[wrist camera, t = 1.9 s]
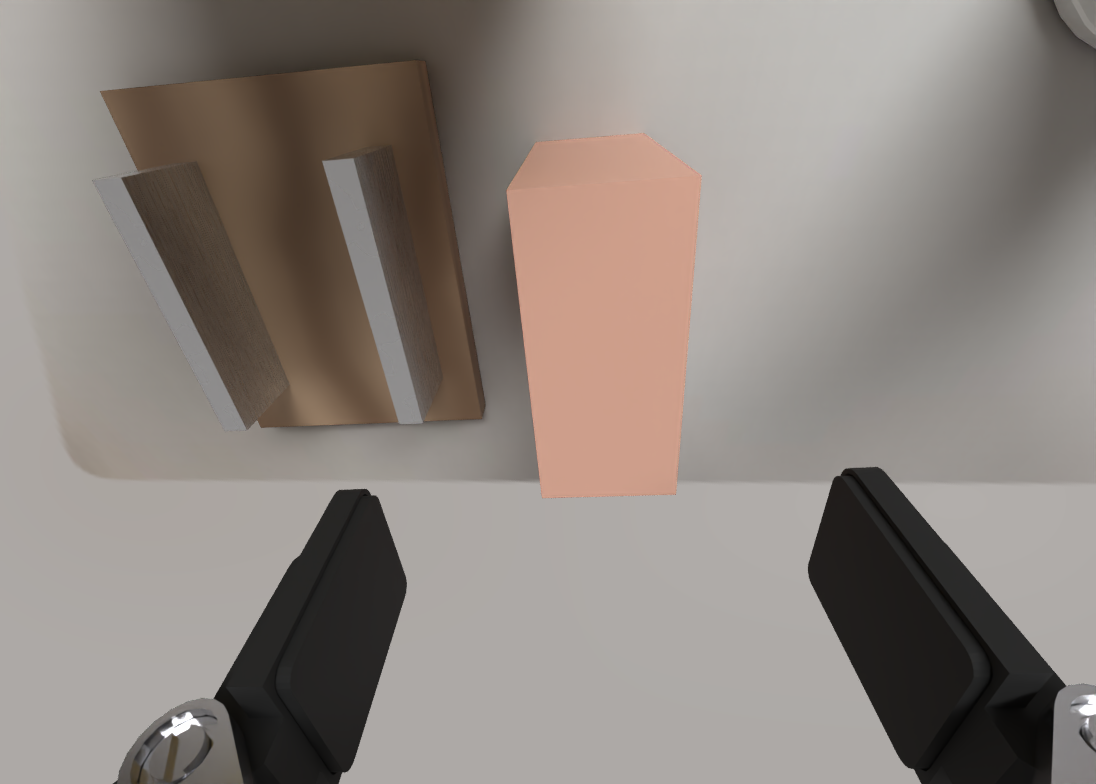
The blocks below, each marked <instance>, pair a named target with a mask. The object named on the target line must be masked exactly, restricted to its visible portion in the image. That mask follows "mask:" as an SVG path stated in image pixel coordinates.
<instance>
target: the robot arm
mask: <svg viewBox="0 0 1096 784" xmlns="http://www.w3.org/2000/svg"><path fill="white" fill-rule="evenodd" d="M1054 3H1055V5H1056V8H1057V10H1058V13H1059V15H1060V17H1061V18H1062V19H1063V21H1064V22H1065V23H1066V24H1067V26H1068V27H1069V28H1070V29H1071V31H1072V32H1073V33H1074V34H1075V35H1076V37H1078V38H1079V39H1081V40H1082V41H1084V42H1086V43H1087V44H1089V45H1090V46H1092V47H1093V48H1095V49H1096V0H1054ZM808 574H809V579H810V582H811V584H812V586H813V588H814V590H815V592H816V594H817V596H818V598H819V600H820V602H821V604H822V606H823V608H824V610H825V612H826V614H827V616H828V618H829V620H830V622H831V624H832V626H833V628H834V630H835V632H836V634H837V636H838V638H839V640H840V642H841V643H842V646H843V647H844V649H845V651H846V653H847V655H848V657H849V659H850V661H851V663H852V665H853V667H854V669H855V671H856V673H857V675H858V677H859V679H860V681H861V683H862V685H863V687H864V689H865V691H866V693H867V695H868V697H869V699H870V701H871V703H872V705H873V707H874V709H875V711H876V713H877V715H878V717H879V719H880V721H881V723H882V725H883V727H884V729H885V731H886V733H887V735H888V736H889V739H890V741H891V742H892V744H893V747H894V749H895V750H896V753H897V754H898V756H899V758H900V759H901V761H902V762H903V763H904V765H905V766H907V767H908V768H911V769H914V770H915V772H916V774H917V776H918V778H919V780H920V782H921V784H1096V686H1094V685H1089V684H1076V685H1068V686H1066V685H1065V684H1064V683H1063V681H1062V680H1061V679H1060V678H1059V677H1058V676H1057V674H1056V673H1055V672H1054V671H1053V670H1052V668H1051V667H1050V666H1049V665H1048V664H1047V663H1046V661H1044V659H1043V658H1042V657H1041V656H1040V654H1039V653H1038V652H1037V651H1036V650H1035V648H1034V647H1033V646H1032V645H1031V644H1030V643H1029V641H1028V640H1027V639H1026V638H1025V637H1024V635H1023V634H1022V633H1021V632H1020V631H1019V629H1018V628H1017V627H1016V626H1015V625H1014V624H1013V622H1012V621H1011V620H1010V619H1009V618H1008V616H1007V615H1006V614H1005V613H1004V612H1003V611H1002V609H1001V608H1000V607H999V606H998V605H997V603H996V602H995V601H994V600H993V599H992V598H991V597H990V595H989V594H988V593H987V592H986V590H985V589H984V588H983V587H982V586H981V584H980V583H979V582H978V581H977V580H976V579H975V577H974V576H973V575H972V574H971V573H970V572H969V570H968V569H967V568H966V567H965V566H964V564H963V563H962V562H961V561H960V560H959V559H958V557H957V556H956V555H955V554H954V553H953V551H952V550H951V549H950V548H949V547H948V545H947V544H945V543H944V542H943V541H942V539H941V538H940V537H939V536H938V535H937V533H936V532H935V531H934V530H933V529H932V528H931V526H930V525H929V524H928V523H927V522H926V520H925V519H924V518H923V517H922V516H921V514H920V513H919V512H918V511H917V510H916V509H915V507H914V506H913V505H912V504H911V503H910V502H909V500H908V499H907V498H906V497H905V495H904V494H903V493H902V492H901V491H900V490H899V488H898V487H897V486H896V485H895V484H894V482H893V481H892V480H891V479H890V478H889V477H888V475H887V474H886V473H885V472H884V471H883V470H882V469H880V468H878V467H867V468H848V469H845V470H844V471H843V472H842V474H841V476H836V477H835V478H834V480H833V482H832V486H831V489H830V492H829V496H828V499H827V503H826V506H825V510H824V513H823V516H822V520H821V523H820V526H819V530H818V533H817V537H816V540H815V544H814V547H813V550H812V554H811V557H810V561H809V564H808ZM406 587H407V582H406V576H405V573H404V571H403V568H402V565H401V562H400V559H399V556H398V553H397V550H396V547H395V545H394V542H393V539H392V536H391V533H390V530H389V527H388V524H387V522H386V519H385V516H384V513H383V510H382V507H381V504H380V502H379V499H378V497H376V496H371V494H370V492H369V491H368V490H367V489H353V490H339V491H337V492H336V493H335V495H334V496H333V498H332V500H331V501H330V503H329V505H328V507H327V508H326V510H325V512H324V514H323V516H322V517H321V519H320V521H319V523H318V524H317V526H316V528H315V530H314V532H313V533H312V535H311V537H310V539H309V540H308V542H307V544H306V546H305V548H304V549H303V551H302V553H301V555H300V556H299V557H297V558H296V559H295V560H294V561H293V562H292V563H291V565H290V566H289V568H288V569H287V572H286V573H285V575H284V576H283V578H282V580H281V582H280V583H279V585H278V587H277V589H276V590H275V592H274V594H273V596H272V597H271V599H270V601H269V603H268V604H267V606H266V608H265V610H264V611H263V613H262V615H261V617H260V618H259V620H258V622H257V624H256V626H255V627H254V629H253V631H252V632H251V634H250V636H249V638H248V639H247V641H246V643H245V645H244V646H243V648H242V650H241V652H240V653H239V655H238V657H237V659H236V660H235V662H234V664H233V666H232V668H231V669H230V671H229V673H228V674H227V676H226V678H225V680H224V682H223V683H222V685H221V687H220V688H219V690H218V692H217V693H216V695H215V697H214V699H208V698H200V699H196V700H192V701H188V702H185V703H183V704H181V705H179V706H177V707H175V708H173V709H171V710H170V711H168V712H167V713H165V714H164V715H163V716H161V717H160V718H158V719H157V720H156V721H154V722H153V723H152V724H151V725H150V726H149V727H148V728H147V729H146V730H145V731H144V732H143V733H142V734H141V735H140V736H139V738H138V739H137V741H136V742H135V743H134V745H133V746H132V748H131V749H130V750H129V752H128V753H127V755H126V757H125V759H124V761H123V763H122V766H121V768H120V770H119V775H118V780H117V781H116V782H115V783H113V784H339V780H340V777H341V774H342V772H347V771H348V770H349V769H350V768H351V766H352V764H353V762H354V759H355V756H356V753H357V750H358V746H359V743H360V740H361V737H362V733H363V730H364V727H365V724H366V720H367V717H368V714H369V711H370V708H371V704H372V701H373V698H374V695H375V691H376V688H377V685H378V682H379V678H380V675H381V672H382V669H383V666H384V662H385V659H386V656H387V653H388V650H389V646H390V643H391V640H392V637H393V633H394V630H395V627H396V624H397V621H398V617H399V614H400V610H401V608H402V604H403V601H404V598H405V594H406Z"/></svg>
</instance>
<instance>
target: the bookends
mask: <svg viewBox="0 0 1096 784" xmlns="http://www.w3.org/2000/svg"><path fill="white" fill-rule="evenodd" d="M322 163H323V166H324V169H325V173H326V176H327V180H328V183H329V186H330V190H331V193H332V197H333V200H334V203H335V207H336V210H337V214H338V217H339V220H340V224H341V227H342V231H343V234H344V237H345V241H346V244H347V248H348V251H349V255H350V258H351V261H352V265H353V268H354V272H355V275H356V278H357V282H358V285H359V289H360V292H361V295H362V299H363V302H364V306H365V309H366V312H367V316H368V319H369V323H370V326H371V330H372V333H373V336H374V340H375V343H376V347H377V350H378V353H379V357H380V360H381V364H382V367H383V370H384V374H385V377H386V381H387V384H388V387H389V391H390V394H391V398H392V401H393V404H394V408H395V411H396V415H397V418H398V422H399V424H421V423H423V422H424V420H425V417H426V415H427V413H428V411H429V408H430V406H431V404H432V401H433V399H434V397H435V395H436V392H437V390H438V388H439V385H440V383H441V381H442V379H443V375H442V370H441V366H440V361H439V357H438V352H437V348H436V343H435V339H434V334H433V330H432V325H431V321H430V316H429V312H428V307H427V303H426V298H425V294H424V289H423V285H422V280H421V276H420V271H419V267H418V262H417V258H416V253H415V249H414V244H413V240H412V235H411V231H410V226H409V222H408V217H407V213H406V208H405V204H404V199H403V194H402V190H401V185H400V181H399V176H398V172H397V167H396V163H395V158H394V154H393V149H392V145H386V146H374V147H365V148H361V149H358V150H355V151H352V152H349V153H346V154H343V155H339V156H336V157H333V158H330V159H327V160H324V161H322ZM92 181H93V183H94V185H95V187H96V189H97V191H98V193H99V195H100V196H101V198H102V200H103V202H104V204H105V206H106V208H107V210H108V212H109V213H110V215H111V217H112V219H113V221H114V223H115V225H116V227H117V229H118V230H119V232H120V234H121V236H122V238H123V240H124V242H125V244H126V246H127V247H128V249H129V251H130V253H131V255H132V257H133V259H134V261H135V263H136V264H137V266H138V268H139V270H140V272H141V274H142V276H143V278H144V280H145V281H146V283H147V285H148V287H149V289H150V291H151V293H152V295H153V297H154V298H155V300H156V302H157V304H158V306H159V308H160V310H161V312H162V314H163V315H164V317H165V319H166V321H167V323H168V325H169V327H170V329H171V331H172V332H173V334H174V336H175V338H176V340H177V342H178V344H179V346H180V348H181V349H182V351H183V353H184V355H185V357H186V359H187V361H188V363H189V365H190V366H191V368H192V370H193V372H194V374H195V376H196V378H197V380H198V382H199V383H200V385H201V387H202V389H203V391H204V393H205V395H206V397H207V399H208V400H209V402H210V404H211V406H212V408H213V410H214V412H215V414H216V416H217V417H218V419H219V421H220V423H221V425H222V427H223V429H224V431H244V430H248V429H249V428H250V427H251V426H252V424H253V423H254V422H255V421H256V420H257V419H258V418H259V417H260V416H261V415H262V414H263V413H264V412H265V411H266V409H267V408H268V407H269V406H270V405H271V404H272V403H273V402H274V401H275V400H276V399H277V398H278V397H279V396H280V394H281V393H282V392H283V391H284V390H285V389H286V388H287V387H288V386H289V385H290V384H289V381H288V379H287V377H286V374H285V372H284V369H283V367H282V365H281V362H280V360H279V357H278V355H277V353H276V350H275V348H274V345H273V343H272V341H271V338H270V336H269V333H268V331H267V329H266V326H265V324H264V321H263V319H262V317H261V314H260V312H259V309H258V307H257V305H256V302H255V300H254V297H253V295H252V293H251V290H250V288H249V285H248V283H247V281H246V278H245V276H244V273H243V271H242V269H241V266H240V264H239V261H238V259H237V257H236V254H235V252H234V249H233V247H232V245H231V242H230V240H229V237H228V235H227V233H226V230H225V228H224V225H223V223H222V221H221V218H220V216H219V213H218V211H217V209H216V206H215V204H214V201H213V199H212V197H211V194H210V192H209V189H208V187H207V185H206V182H205V180H204V177H203V175H202V173H201V170H200V168H199V165H198V163H197V162H186V163H174V164H168V165H163V166H159V167H154V168H149V169H144V170H139V171H134V172H129V173H124V174H120V175H115V176H110V177H105V178H100V179H95V180H92Z"/></svg>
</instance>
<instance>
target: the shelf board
mask: <svg viewBox="0 0 1096 784" xmlns="http://www.w3.org/2000/svg"><path fill="white" fill-rule="evenodd" d="M100 92H101V95H102V97H103V99H104V101H105V103H106V105H107V107H108V109H109V111H110V113H111V115H112V118H113V120H114V122H115V124H116V126H117V128H118V130H119V132H120V134H121V136H122V138H123V140H124V143H125V145H126V147H127V149H128V151H129V153H130V155H131V157H132V159H133V161H134V163H135V166H136V168H137V170H138V171H139V170H144V169H149V168H154V167H159V166H163V165H168V164H174V163H186V162H197V163H198V165H199V168H200V170H201V173H202V175H203V177H204V180H205V182H206V185H207V187H208V189H209V192H210V194H211V197H212V199H213V201H214V204H215V206H216V209H217V211H218V213H219V216H220V218H221V221H222V223H223V225H224V228H225V230H226V233H227V235H228V237H229V240H230V242H231V245H232V247H233V249H234V252H235V254H236V257H237V259H238V261H239V264H240V266H241V269H242V271H243V273H244V276H245V278H246V281H247V283H248V285H249V288H250V290H251V293H252V295H253V297H254V300H255V302H256V305H257V307H258V309H259V312H260V314H261V317H262V319H263V321H264V324H265V326H266V329H267V331H268V333H269V336H270V338H271V341H272V343H273V345H274V348H275V350H276V353H277V355H278V357H279V360H280V362H281V365H282V367H283V369H284V372H285V374H286V377H287V379H288V381H289V384H290V385H289V386H288V387H287V388H286V389H285V390H284V391H283V392H282V393H281V394H280V396H279V397H278V398H277V399H276V400H275V401H274V402H273V403H272V404H271V405H270V406H269V407H268V408H267V409H266V411H265V412H264V413H263V414H262V415H261V416H260V417H259V418H258V419H257V420H258V422H259V425H260V427H261V428H265V427H290V426H315V425H340V424H365V423H390V422H398V418H397V415H396V411H395V408H394V404H393V401H392V398H391V394H390V391H389V387H388V384H387V381H386V377H385V374H384V370H383V367H382V364H381V360H380V357H379V353H378V350H377V347H376V343H375V340H374V336H373V333H372V330H371V326H370V323H369V319H368V316H367V312H366V309H365V306H364V302H363V299H362V295H361V292H360V289H359V285H358V282H357V278H356V275H355V272H354V268H353V265H352V261H351V258H350V255H349V251H348V248H347V244H346V241H345V237H344V234H343V231H342V227H341V224H340V220H339V217H338V214H337V210H336V207H335V203H334V200H333V197H332V193H331V190H330V186H329V183H328V180H327V176H326V173H325V169H324V166H323V163H322V161H324V160H327V159H330V158H333V157H336V156H339V155H343V154H346V153H349V152H352V151H355V150H358V149H361V148H365V147H374V146H386V145H392V149H393V154H394V158H395V163H396V167H397V172H398V176H399V181H400V185H401V190H402V194H403V199H404V204H405V208H406V213H407V217H408V222H409V226H410V231H411V235H412V240H413V244H414V249H415V253H416V258H417V262H418V267H419V271H420V276H421V280H422V285H423V289H424V294H425V298H426V303H427V307H428V312H429V316H430V321H431V325H432V330H433V334H434V339H435V343H436V348H437V352H438V357H439V361H440V366H441V370H442V375H443V379H442V381H441V383H440V385H439V388H438V390H437V392H436V395H435V397H434V399H433V401H432V404H431V406H430V408H429V411H428V413H427V415H426V417H425V420H424V421H440V420H466V419H482V416H483V413H484V409H485V399H484V393H483V388H482V382H481V376H480V371H479V365H478V359H477V353H476V348H475V342H474V336H473V330H472V325H471V319H470V313H469V308H468V302H467V296H466V290H465V285H464V279H463V273H462V268H461V262H460V256H459V250H458V245H457V239H456V233H455V227H454V222H453V216H452V210H451V205H450V199H449V193H448V187H447V182H446V176H445V170H444V165H443V159H442V153H441V147H440V142H439V136H438V130H437V125H436V119H435V113H434V107H433V102H432V96H431V90H430V84H429V79H428V73H427V67H426V62H425V61H419V60H412V61H402V62H392V63H381V64H371V65H361V66H351V67H341V68H331V69H320V70H310V71H300V72H290V73H280V74H270V75H259V76H249V77H239V78H229V79H219V80H209V81H198V82H188V83H178V84H168V85H158V86H148V87H137V88H127V89H117V90H107V91H100Z"/></svg>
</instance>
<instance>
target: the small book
mask: <svg viewBox="0 0 1096 784" xmlns="http://www.w3.org/2000/svg"><path fill="white" fill-rule="evenodd" d="M701 177H702V175H700V174H699V173H697V172H696V171H695V170H693V169H692V168H691V167H689V166H688V165H687V164H685V163H684V162H683V161H681V160H680V159H678V158H677V157H676V156H674V155H673V154H672V153H670V152H669V151H668V150H666V149H665V148H664V147H662V146H661V145H659V144H658V143H657V142H655V141H654V140H653V139H651V138H650V137H649V136H647V135H646V134H645V133H639V134H627V135H615V136H603V137H591V138H579V139H567V140H555V141H544V142H535V144H534V146H533V147H532V149H531V151H530V152H529V154H528V156H527V157H526V159H525V160H524V162H523V164H522V165H521V167H520V169H519V170H518V172H517V174H516V175H515V177H514V179H513V180H512V182H511V183H510V185H509V187H508V188H507V190H506V192H507V201H508V210H509V218H510V227H511V236H512V244H513V253H514V261H515V270H516V279H517V287H518V296H519V304H520V313H521V322H522V330H523V339H524V348H525V356H526V365H527V373H528V382H529V391H530V399H531V408H532V416H533V425H534V434H535V442H536V451H537V460H538V468H539V477H540V485H541V494H542V498H563V497H564V498H565V497H600V496H602V497H603V496H638V495H676V487H677V475H678V462H679V450H680V438H681V425H682V413H683V400H684V388H685V375H686V363H687V351H688V338H689V326H690V313H691V301H692V289H693V276H694V264H695V251H696V239H697V226H698V214H699V202H700V189H701Z"/></svg>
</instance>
